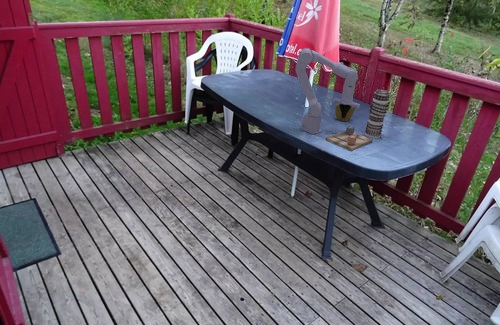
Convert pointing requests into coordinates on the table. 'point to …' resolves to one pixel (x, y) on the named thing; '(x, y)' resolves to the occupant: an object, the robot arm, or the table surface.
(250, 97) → the table surface
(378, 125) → the banded round tower
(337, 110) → the flower pot
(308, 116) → the robot arm
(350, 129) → the fader
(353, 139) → the fader
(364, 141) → the console
